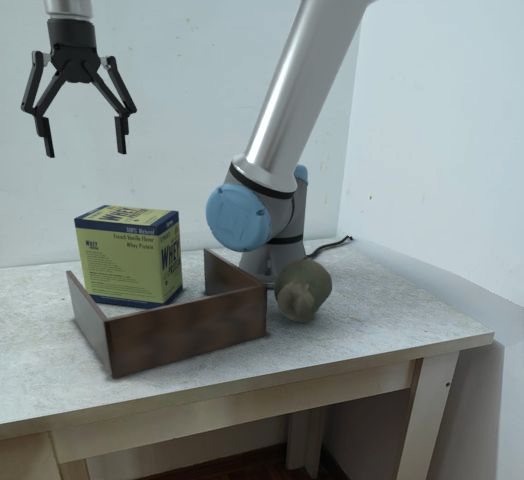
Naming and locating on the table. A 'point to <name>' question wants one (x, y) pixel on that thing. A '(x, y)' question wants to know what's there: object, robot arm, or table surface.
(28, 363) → the table surface
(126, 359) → the compartment
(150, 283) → the protein box
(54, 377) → the table surface
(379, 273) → the table surface
